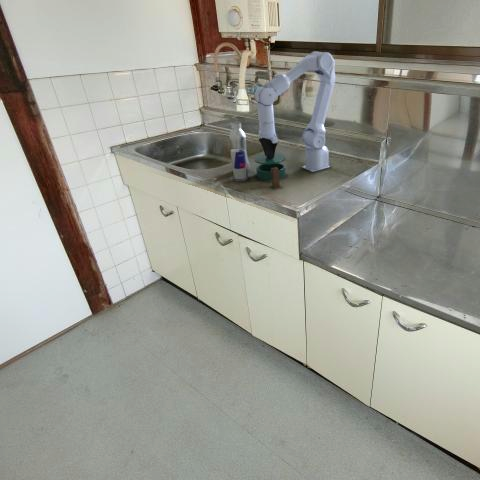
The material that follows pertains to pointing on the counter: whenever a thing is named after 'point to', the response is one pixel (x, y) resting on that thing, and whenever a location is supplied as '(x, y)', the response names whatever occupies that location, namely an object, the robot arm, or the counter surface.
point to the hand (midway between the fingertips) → (269, 157)
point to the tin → (269, 171)
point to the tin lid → (265, 160)
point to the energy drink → (239, 164)
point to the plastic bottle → (239, 140)
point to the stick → (275, 177)
